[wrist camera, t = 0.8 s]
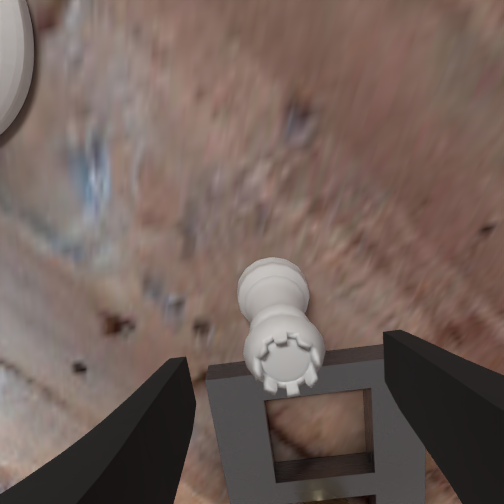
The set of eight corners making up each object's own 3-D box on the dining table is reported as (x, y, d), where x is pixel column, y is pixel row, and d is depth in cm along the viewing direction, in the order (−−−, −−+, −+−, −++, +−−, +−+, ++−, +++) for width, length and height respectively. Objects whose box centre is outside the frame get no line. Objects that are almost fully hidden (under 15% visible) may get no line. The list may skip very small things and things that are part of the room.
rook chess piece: (306, 319, 18) (346, 417, 11) (238, 321, 18) (229, 421, 11) (306, 253, 17) (352, 309, 9) (235, 256, 17) (222, 313, 10)
